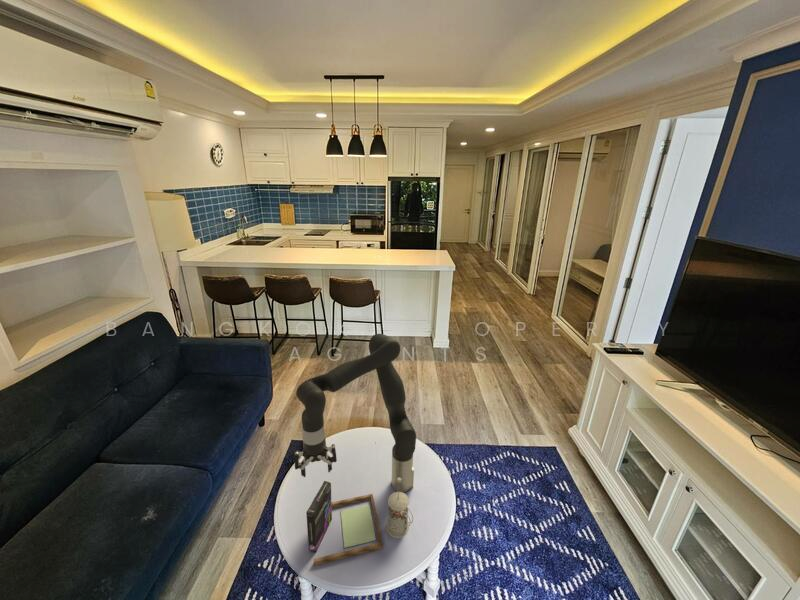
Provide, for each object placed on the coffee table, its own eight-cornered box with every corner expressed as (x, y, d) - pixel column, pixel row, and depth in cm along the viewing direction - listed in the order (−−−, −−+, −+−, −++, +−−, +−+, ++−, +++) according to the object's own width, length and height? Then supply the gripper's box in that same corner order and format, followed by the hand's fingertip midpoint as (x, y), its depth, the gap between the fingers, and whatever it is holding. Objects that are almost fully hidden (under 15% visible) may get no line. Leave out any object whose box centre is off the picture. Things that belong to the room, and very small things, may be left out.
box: (317, 553, 120) (313, 514, 113) (308, 550, 121) (304, 512, 114) (333, 518, 133) (331, 481, 126) (325, 516, 133) (322, 479, 127)
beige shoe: (396, 510, 137) (397, 463, 128) (418, 528, 130) (421, 479, 122) (380, 528, 129) (380, 479, 121) (403, 547, 122) (404, 497, 114)
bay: (372, 497, 142) (372, 493, 141) (382, 548, 122) (382, 544, 121) (313, 509, 136) (313, 506, 135) (314, 565, 116) (313, 562, 115)
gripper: (334, 425, 117) (336, 461, 122) (292, 432, 113) (296, 468, 118) (335, 440, 110) (337, 477, 115) (291, 447, 106) (295, 485, 112)
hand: (316, 472), depth 117 cm, fingers open, 8 cm apart
